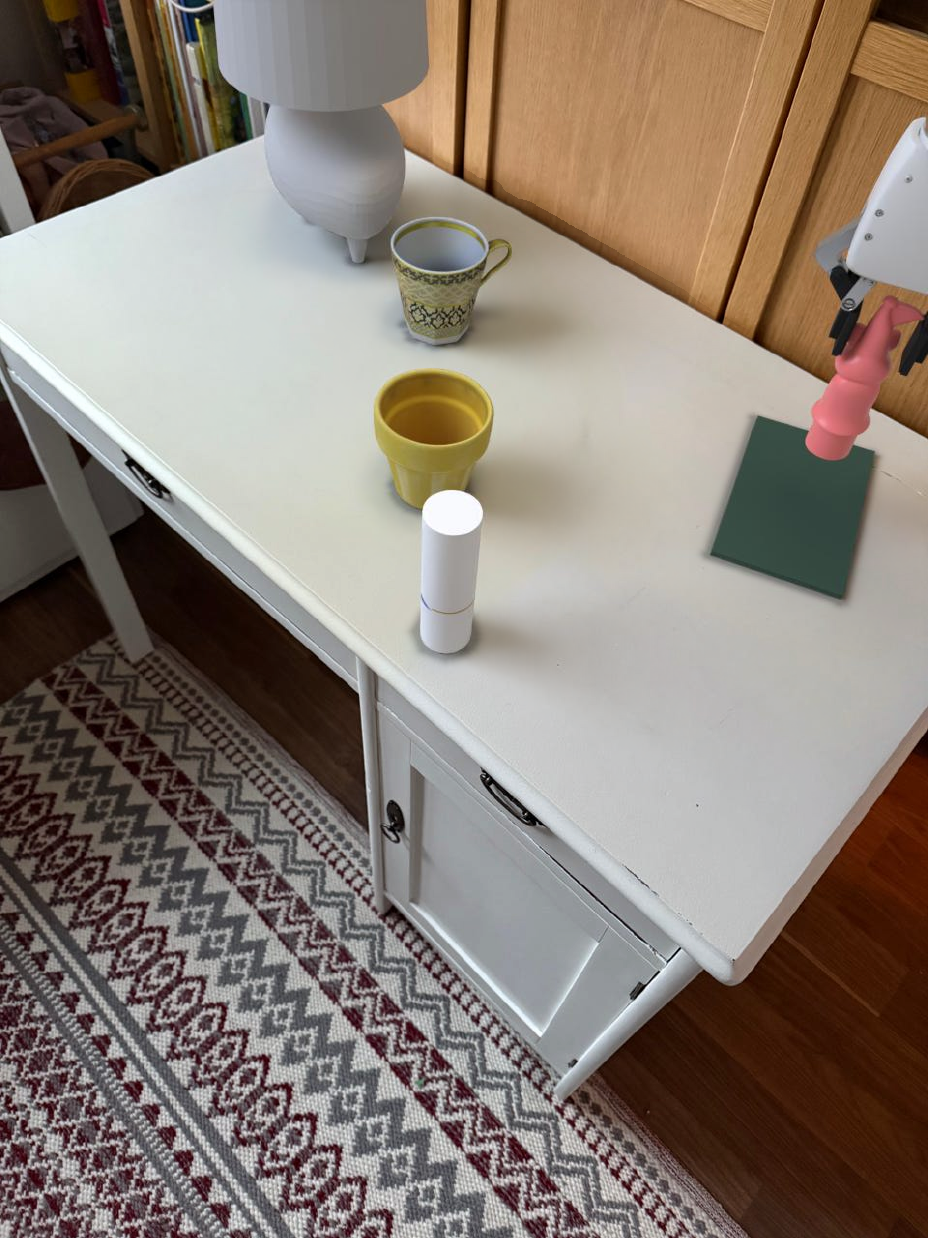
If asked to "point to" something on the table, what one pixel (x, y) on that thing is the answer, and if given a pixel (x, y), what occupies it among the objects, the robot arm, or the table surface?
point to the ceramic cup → (441, 275)
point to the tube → (449, 569)
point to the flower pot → (432, 431)
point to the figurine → (857, 380)
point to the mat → (794, 509)
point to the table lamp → (329, 100)
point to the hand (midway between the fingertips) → (871, 353)
